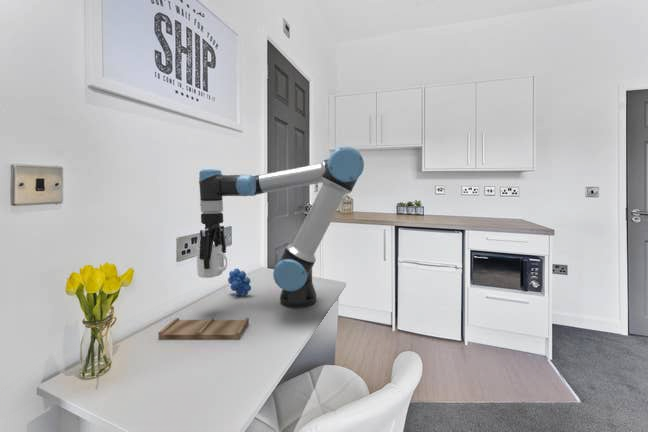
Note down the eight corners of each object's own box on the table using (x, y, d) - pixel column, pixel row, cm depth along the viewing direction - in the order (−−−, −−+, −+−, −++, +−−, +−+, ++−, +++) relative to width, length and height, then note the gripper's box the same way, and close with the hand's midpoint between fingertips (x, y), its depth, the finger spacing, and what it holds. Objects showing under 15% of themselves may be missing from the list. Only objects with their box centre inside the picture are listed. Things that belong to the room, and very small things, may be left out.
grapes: (222, 297, 120) (221, 270, 119) (232, 292, 126) (231, 266, 125) (245, 300, 116) (244, 272, 115) (254, 295, 122) (253, 268, 121)
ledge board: (248, 324, 95) (248, 317, 95) (239, 339, 85) (239, 332, 85) (176, 324, 95) (176, 317, 95) (158, 339, 85) (158, 332, 85)
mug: (218, 280, 96) (217, 249, 95) (192, 276, 100) (190, 247, 99) (235, 273, 104) (234, 245, 103) (209, 270, 108) (208, 243, 107)
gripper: (215, 210, 112) (217, 265, 113) (185, 214, 90) (188, 282, 92) (233, 210, 111) (235, 266, 113) (207, 214, 90) (210, 282, 92)
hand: (214, 273), depth 102 cm, fingers closed on mug, 9 cm apart
